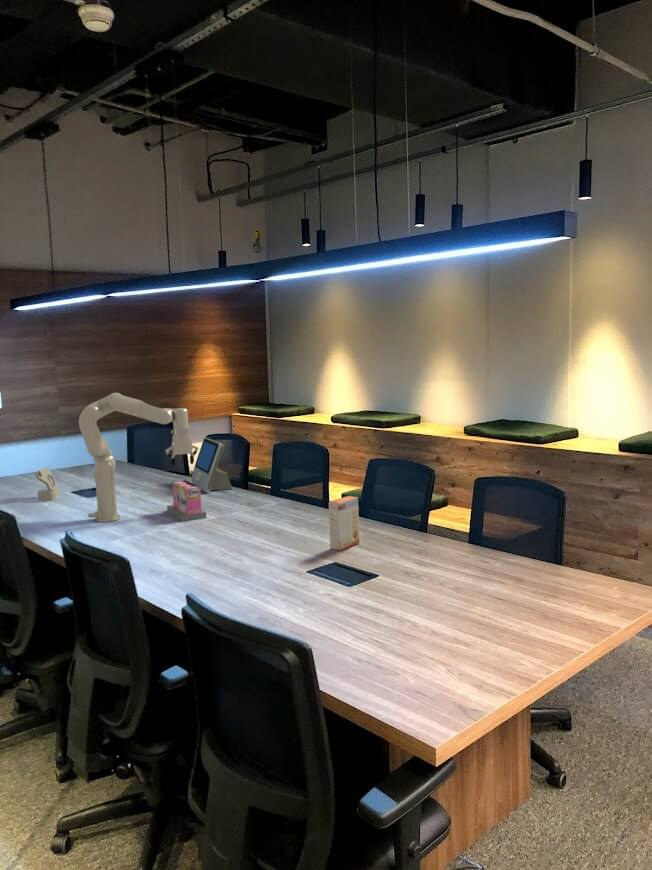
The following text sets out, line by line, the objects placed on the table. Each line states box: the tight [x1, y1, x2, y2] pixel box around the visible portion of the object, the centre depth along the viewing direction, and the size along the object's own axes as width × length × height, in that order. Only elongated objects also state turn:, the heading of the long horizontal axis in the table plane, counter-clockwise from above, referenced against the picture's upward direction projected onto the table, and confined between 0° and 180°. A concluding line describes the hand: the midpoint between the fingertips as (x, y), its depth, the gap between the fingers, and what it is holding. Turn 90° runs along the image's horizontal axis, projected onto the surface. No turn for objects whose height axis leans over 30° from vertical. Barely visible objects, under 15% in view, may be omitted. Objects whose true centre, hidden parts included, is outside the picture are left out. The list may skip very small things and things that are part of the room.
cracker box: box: [328, 495, 360, 552], centre depth 309 cm, size 14×6×21 cm, turn 141°
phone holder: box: [34, 466, 61, 501], centre depth 422 cm, size 17×10×18 cm, turn 178°
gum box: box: [172, 479, 202, 515], centre depth 372 cm, size 24×8×14 cm, turn 30°
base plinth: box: [166, 504, 207, 522], centre depth 375 cm, size 13×27×3 cm, turn 28°
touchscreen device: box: [191, 437, 233, 494], centre depth 443 cm, size 35×20×30 cm, turn 25°
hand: (182, 464), depth 373 cm, fingers open, 9 cm apart
